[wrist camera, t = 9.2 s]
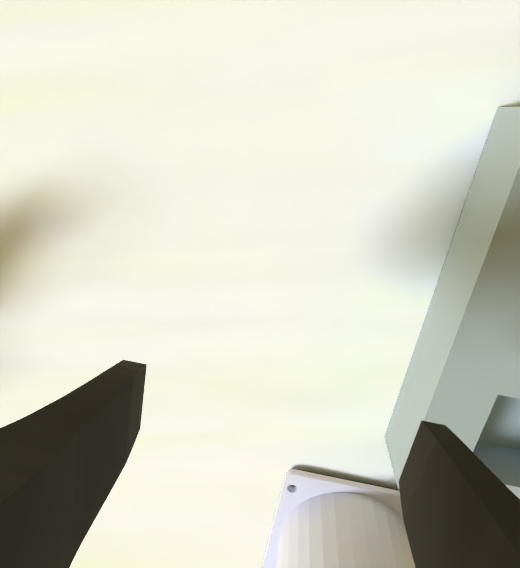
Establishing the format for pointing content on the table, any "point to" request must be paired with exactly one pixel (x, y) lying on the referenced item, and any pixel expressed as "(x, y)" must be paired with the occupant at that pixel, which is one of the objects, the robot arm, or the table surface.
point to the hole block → (474, 323)
